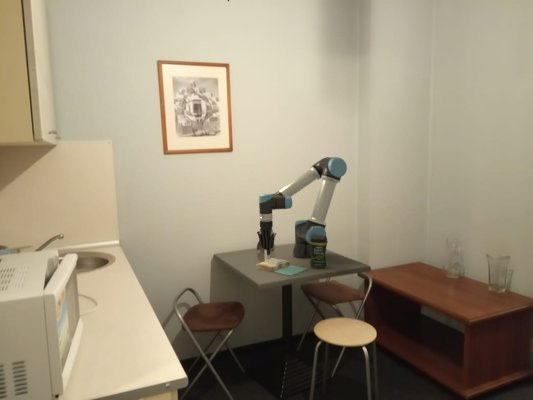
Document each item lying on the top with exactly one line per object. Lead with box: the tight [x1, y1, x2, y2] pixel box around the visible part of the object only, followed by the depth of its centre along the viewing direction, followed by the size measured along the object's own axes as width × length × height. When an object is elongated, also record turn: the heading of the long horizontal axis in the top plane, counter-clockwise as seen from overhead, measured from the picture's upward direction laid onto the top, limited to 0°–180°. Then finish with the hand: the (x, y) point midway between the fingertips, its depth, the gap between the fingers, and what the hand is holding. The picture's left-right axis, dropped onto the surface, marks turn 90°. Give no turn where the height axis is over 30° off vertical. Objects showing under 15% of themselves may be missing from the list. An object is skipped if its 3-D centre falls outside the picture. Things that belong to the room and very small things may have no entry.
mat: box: [272, 264, 309, 277], centre depth 225 cm, size 16×13×1 cm
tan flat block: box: [255, 258, 290, 273], centre depth 233 cm, size 16×12×2 cm
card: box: [264, 257, 284, 265], centre depth 232 cm, size 6×9×2 cm, turn 49°
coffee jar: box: [310, 235, 328, 269], centre depth 230 cm, size 10×8×19 cm
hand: (267, 260), depth 236 cm, fingers closed
